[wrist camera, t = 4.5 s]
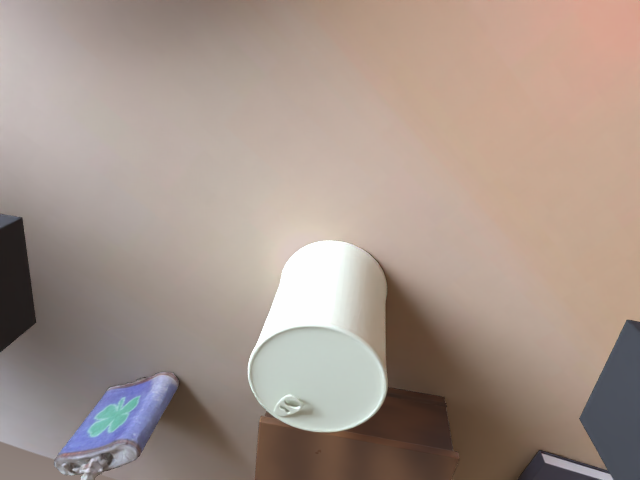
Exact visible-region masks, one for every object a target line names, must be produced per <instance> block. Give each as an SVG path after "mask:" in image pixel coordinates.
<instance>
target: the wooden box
mask: <svg viewBox="0 0 640 480" xmlns="http://www.w3.org/2000/svg"><path fill="white" fill-rule="evenodd" d="M446 407H447V405H446V403H445V398H444V397H440V396H435V395H429V394H423V393H418V392H412V391H406V390H401V389H395V388H389V387H388V389H387V394H386V397H385V400H384V402H383V404H382V406H381V407H380V409H379V410H378V411H377V412H376V413H375V414H374V415H373V416H372V417H371V418H370V419H369V420H367V421H366V422H364V423H362V424H360V425H359V426H356V427H354V428H351V429H348V430H344V431H338V432H312V431H307V430H303V429H299V428H296V427H293V426H291V425H288V424H286V423H284V422H282V421H280V420H279V419H277V418H276V417H274V416H273V415H271V414H270V413H269V412H268V411H266V415H265V416H261V418H260V421H259V431H258V444H257V456H256V468H255V480H452V477H453V474H454V472H455V469H456V466H457V464H458V461H459V454H458V452H456V451H453V446H452V440H451V434H450V428H449V422H448V416H447V410H446Z"/></svg>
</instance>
